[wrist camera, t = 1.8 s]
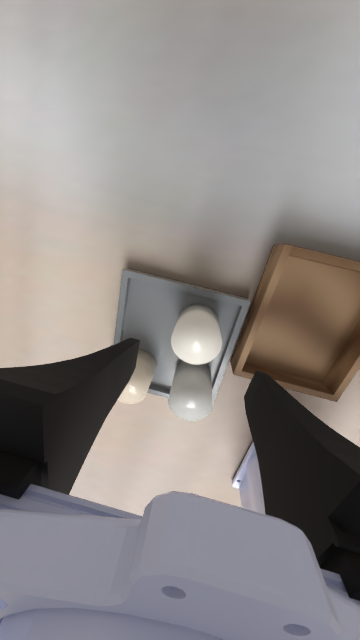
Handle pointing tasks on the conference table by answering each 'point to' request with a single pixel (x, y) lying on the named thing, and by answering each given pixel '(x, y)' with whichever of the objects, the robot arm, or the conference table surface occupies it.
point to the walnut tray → (303, 323)
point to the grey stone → (191, 392)
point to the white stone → (197, 335)
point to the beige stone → (139, 379)
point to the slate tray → (173, 322)
